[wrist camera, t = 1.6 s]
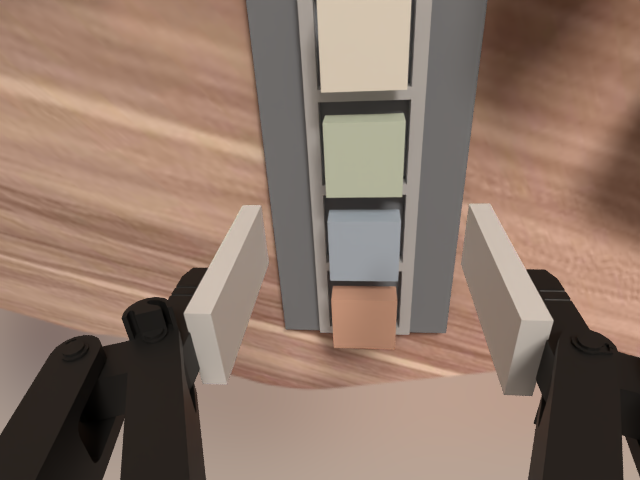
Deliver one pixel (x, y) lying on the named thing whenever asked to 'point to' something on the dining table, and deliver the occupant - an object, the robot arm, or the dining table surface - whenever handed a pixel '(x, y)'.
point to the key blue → (364, 244)
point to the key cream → (363, 44)
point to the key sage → (364, 155)
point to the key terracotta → (364, 317)
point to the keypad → (419, 154)
